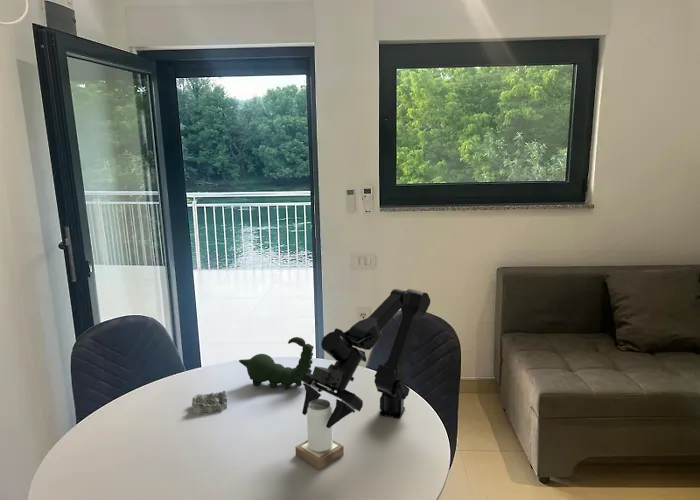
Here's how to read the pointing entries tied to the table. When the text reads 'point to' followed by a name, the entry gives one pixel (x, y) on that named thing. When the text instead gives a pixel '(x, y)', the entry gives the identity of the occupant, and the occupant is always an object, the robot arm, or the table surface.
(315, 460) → the block
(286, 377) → the toy figurine
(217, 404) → the egg carton
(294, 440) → the table surface
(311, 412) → the can
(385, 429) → the table surface
